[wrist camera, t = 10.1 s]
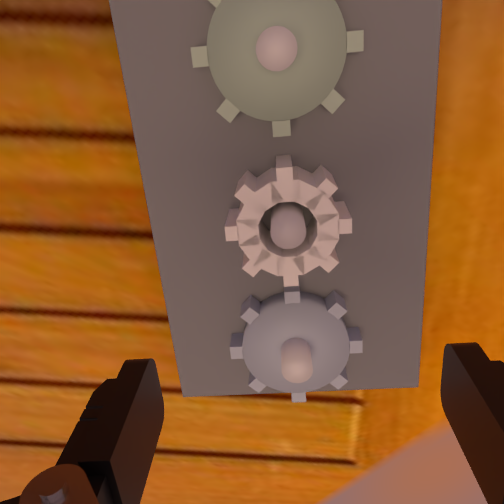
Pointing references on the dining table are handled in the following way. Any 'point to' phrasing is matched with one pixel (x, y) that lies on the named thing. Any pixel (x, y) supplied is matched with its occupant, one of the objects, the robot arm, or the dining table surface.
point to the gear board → (302, 155)
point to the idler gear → (287, 190)
